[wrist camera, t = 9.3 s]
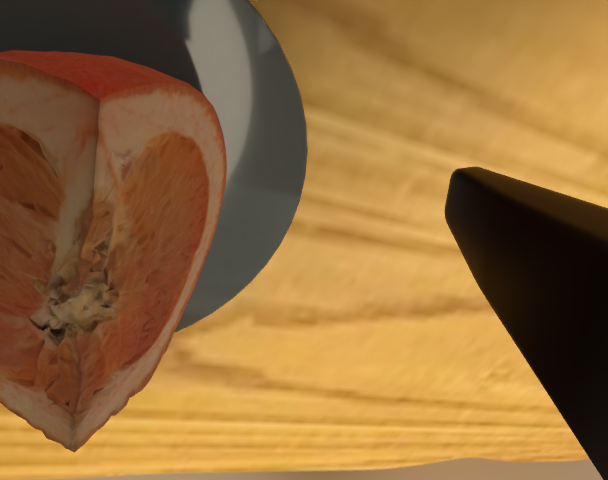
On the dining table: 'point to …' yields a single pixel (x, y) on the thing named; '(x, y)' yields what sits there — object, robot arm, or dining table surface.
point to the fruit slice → (97, 230)
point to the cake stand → (222, 95)
